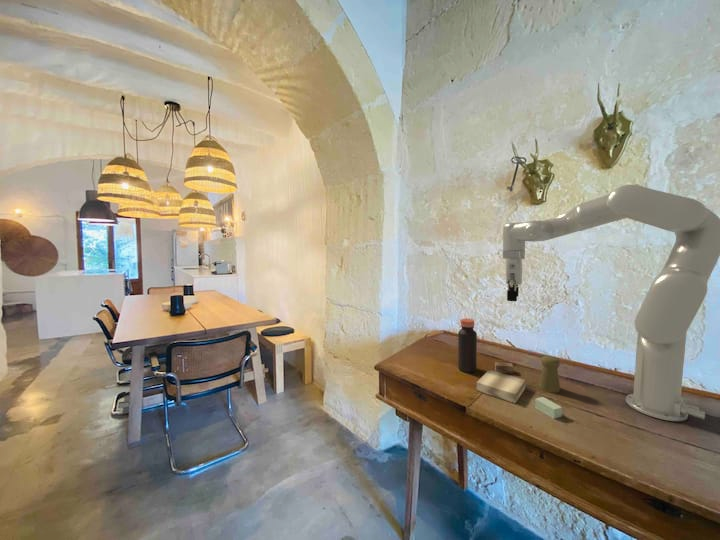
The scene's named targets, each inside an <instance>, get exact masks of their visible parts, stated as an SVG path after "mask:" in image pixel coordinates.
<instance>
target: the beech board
mask: <svg viewBox="0 0 720 540" xmlns="http://www.w3.org/2000/svg"><path fill="white" fill-rule="evenodd" d="M525 389H526V379H523V378H520V377H516V376H513V375H510V374H507V373H499V372H496V371H495V370H490V369H488V370H487V371H486V372H485V373H484V374H483V375H482V376H481V377H479V379H478V380H477V381H476V392H479V393H482V394H485V393H486V394H485V395H488V394H489V395H488V396H491V395H492V396H491V397H494V396H495V397H494V398H497V397H498V398H497V399H501V400H504V401H507V402H510V403H512V402H513V403H512V404H516V403H517V402H518V400H519V398H520V397H521V396H522V394H523V392H524V391H525Z"/></svg>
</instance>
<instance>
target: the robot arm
mask: <svg viewBox="0 0 720 540" xmlns="http://www.w3.org/2000/svg"><path fill="white" fill-rule="evenodd" d="M624 219H625V220H626V219H629V220H632V221H635V222H639V223H641V224H645V225H648V226H652V227H655V228H658V229H661V230H664V231H668V232H672V233H674V234H675V242H674V244H673V247H672V249H671V250H670V252H669V253H670V254H669V256H668V258H667V260H666V262H665V264H664V266H663V268H662V270H661V271H660V273H658V274H657V276H656V277H655V278H654V280H653V281H652V282H651V284H650V287H649V289H648V291H647V293H646V295H645V298H644V299H643V301H642V303H641V306H640V307H639V310H638V311H637V313H636V316H635V319H634V328H635V331H636V332H637V337H636V338H637V340H636V352H635V366H634V380H633V381H634V382H633V393H631V394H627V396H626V397H625V401H626V403H627V404H628V405H629V407H631V408H632V409H634V410H636V411H638V412H639V413H642V414H644V415H647V416H649V417H651V418H656V419H659V420H663V421H669V422H684V421H686V420H688V417H689V416H693V417H695V418H698V419H701V420H705V417H706V412H705V411H703V410H700V408H699V407H698V406H694V405H691V404H687V402H684V397H682V388H683V387H682V385H683V377H684V376H683V374H684V363H685V357H686V356H685V353H686V343H687V342H686V341H687V331H688V330H689V328H690V326H691V324H692V323H693V321H694V319H695V317H696V315H697V314H698V312H699V310H700V308H701V306H702V304H703V302H704V300H705V298H706V295H707V294H708V281H709V280H710V277H711V275H712V273H713V272H714V269H715V267H716V265H717V263H718V261H719V259H720V217H719V216H718V215H717V214H716V213H714V212H713V211H712V210H710V209H709V208H707V207H706V206H705V205H704V204H703V203H702V202H701V201H699V200H697V199H694V198H691V197H686V196H682V195H679V194H673V193H670V192H665V191H661V190H656V189H653V188H650V187H649V188H648V187H646V186H642V185H638V184H625V185H624V184H623V185H622V186H619V187H617V188H615V189H614V190H613V191H612V192H611V193H608V194H606V195H603V196H600V197H597V198H594V199H591V200H589V201H585V202H582V203H579V204H577V205H575V206H574V207H573V208H572V209H570V210H568V211H566V212H565V213H562V214H560V215H557V216H554V217H551V218H548V219H545V220H530V221H528V220H527V221H523V222H508V223H505V224H503V228H502V229H503V230H502V259H503V260H505V279H506V280H505V282H506V283H505V284H506V285H507V292H506V300H507V301H508V302H517V301H518V297H519V286H521V285H522V282H523V261H522V260H525V259H526V242H545V241H549V240H554V239H556V238H559V237H563V236H566V235H571V234H574V233H576V232H583V231H585V230H590V229H592V228H596V227H599V226H603V225H606V224H609V223H613V222H617V221H621V220H624Z"/></svg>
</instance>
